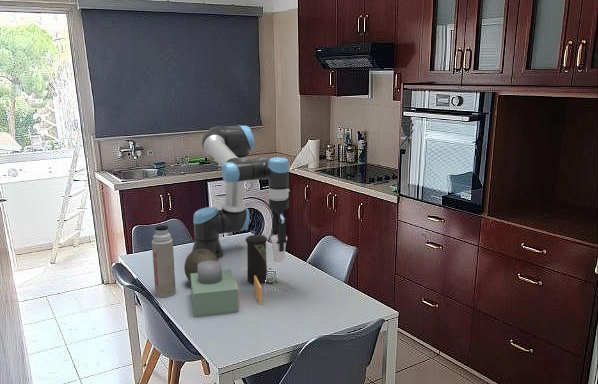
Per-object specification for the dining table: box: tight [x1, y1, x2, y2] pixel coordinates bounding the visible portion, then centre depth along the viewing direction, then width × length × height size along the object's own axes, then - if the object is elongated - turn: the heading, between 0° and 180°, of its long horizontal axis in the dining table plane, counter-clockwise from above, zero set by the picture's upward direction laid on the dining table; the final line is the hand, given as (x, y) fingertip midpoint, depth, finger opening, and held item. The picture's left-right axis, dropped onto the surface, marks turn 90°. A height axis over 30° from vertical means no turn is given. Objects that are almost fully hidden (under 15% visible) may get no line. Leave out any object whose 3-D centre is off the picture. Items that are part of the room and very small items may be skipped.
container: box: [245, 234, 268, 285], centre depth 208 cm, size 9×9×20 cm
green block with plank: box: [190, 260, 263, 318], centre depth 189 cm, size 20×26×15 cm
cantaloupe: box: [183, 249, 219, 283], centre depth 206 cm, size 14×14×15 cm
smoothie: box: [270, 234, 288, 263], centre depth 191 cm, size 6×6×14 cm
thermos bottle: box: [151, 224, 177, 298], centre depth 195 cm, size 8×8×28 cm
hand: (279, 255), depth 192 cm, fingers closed on smoothie, 6 cm apart
